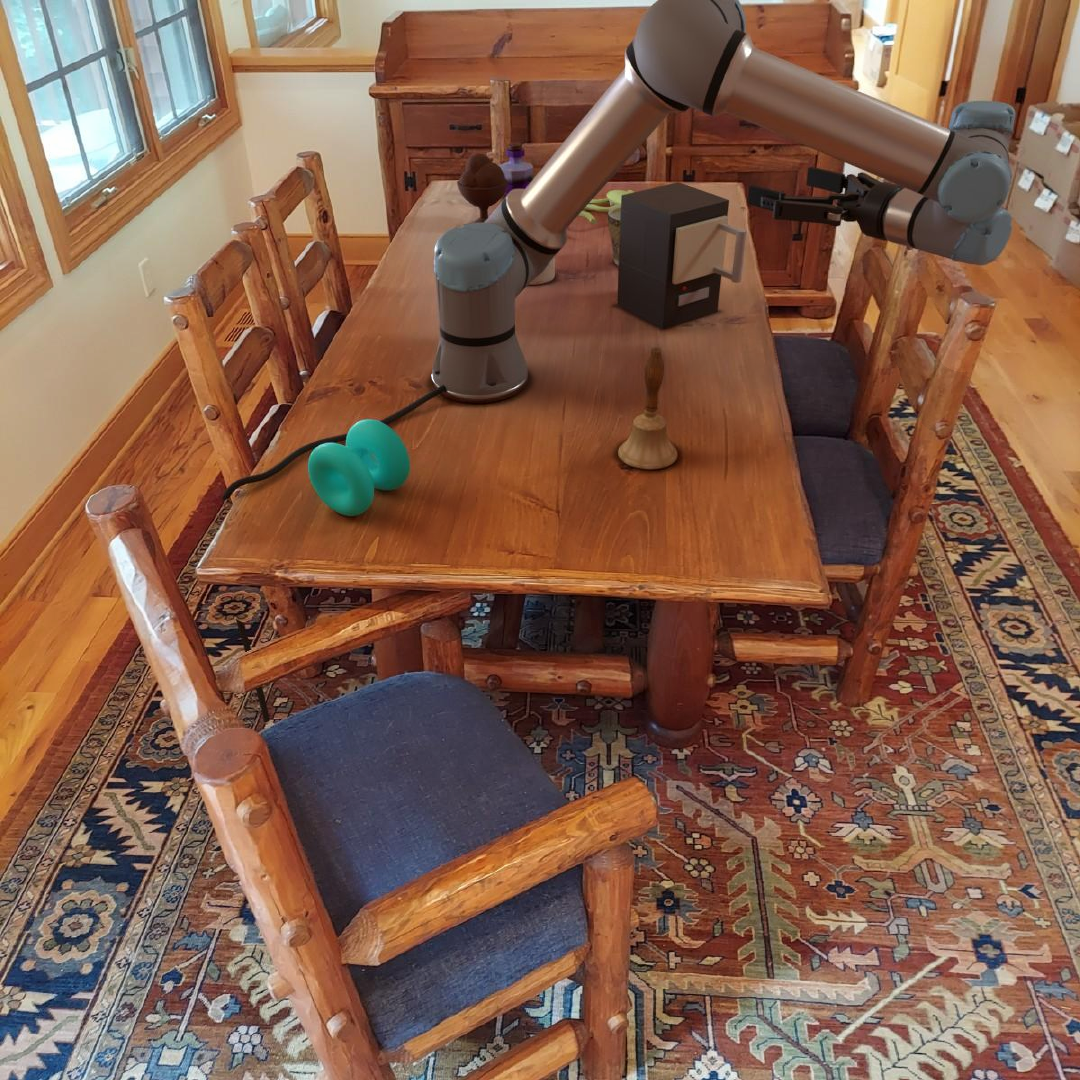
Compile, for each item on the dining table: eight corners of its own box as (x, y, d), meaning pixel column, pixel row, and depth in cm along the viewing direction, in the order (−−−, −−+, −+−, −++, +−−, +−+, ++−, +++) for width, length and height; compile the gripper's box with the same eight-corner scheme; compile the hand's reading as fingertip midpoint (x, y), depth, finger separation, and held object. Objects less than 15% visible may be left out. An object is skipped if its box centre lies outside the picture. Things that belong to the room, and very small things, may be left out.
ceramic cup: (649, 274, 189) (652, 223, 183) (600, 268, 192) (601, 218, 186) (664, 251, 199) (667, 203, 193) (617, 246, 201) (619, 198, 195)
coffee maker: (719, 312, 173) (731, 200, 162) (664, 330, 168) (673, 215, 156) (670, 289, 182) (678, 181, 171) (616, 305, 177) (621, 195, 165)
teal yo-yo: (309, 505, 125) (297, 439, 119) (361, 471, 132) (352, 406, 126) (367, 530, 120) (357, 462, 114) (417, 493, 127) (411, 427, 121)
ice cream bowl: (453, 231, 210) (448, 160, 202) (470, 215, 219) (467, 146, 210) (498, 235, 208) (496, 163, 199) (514, 219, 216) (512, 149, 208)
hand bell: (640, 433, 139) (646, 330, 130) (688, 452, 135) (698, 347, 125) (606, 457, 134) (610, 351, 124) (655, 477, 130) (663, 369, 120)
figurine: (573, 239, 205) (573, 213, 202) (576, 200, 227) (576, 176, 224) (660, 240, 205) (661, 213, 201) (655, 201, 226) (656, 176, 223)
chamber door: (746, 280, 164) (753, 225, 158) (698, 295, 159) (703, 239, 153) (719, 269, 168) (724, 215, 163) (671, 283, 163) (675, 228, 158)
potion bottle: (541, 197, 229) (540, 144, 222) (510, 203, 226) (508, 150, 219) (522, 188, 235) (521, 136, 228) (492, 194, 232) (490, 142, 224)
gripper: (836, 262, 131) (722, 227, 145) (944, 221, 143) (828, 192, 157) (844, 207, 126) (725, 176, 140) (954, 168, 138) (835, 144, 152)
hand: (779, 185), depth 149 cm, fingers open, 13 cm apart
